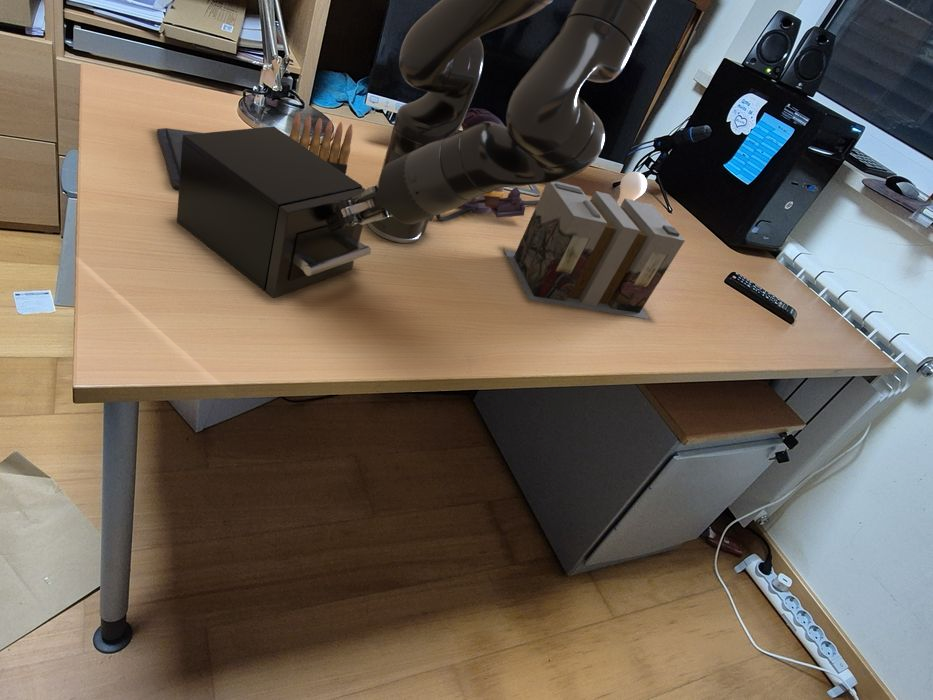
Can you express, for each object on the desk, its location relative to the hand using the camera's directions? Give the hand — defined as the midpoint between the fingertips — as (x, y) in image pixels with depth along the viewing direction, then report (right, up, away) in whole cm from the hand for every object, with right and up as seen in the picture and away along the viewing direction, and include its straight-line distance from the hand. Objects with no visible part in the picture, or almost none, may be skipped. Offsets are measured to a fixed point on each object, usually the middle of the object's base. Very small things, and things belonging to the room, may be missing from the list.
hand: (331, 223), depth 81 cm
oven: (-12, -1, +9) cm, 15 cm away
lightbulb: (+54, +16, +70) cm, 90 cm away
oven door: (-3, -8, +6) cm, 10 cm away
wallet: (-24, +14, +22) cm, 36 cm away
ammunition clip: (-10, +13, +28) cm, 33 cm away
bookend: (+38, -4, +33) cm, 51 cm away
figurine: (+18, +14, +47) cm, 52 cm away
